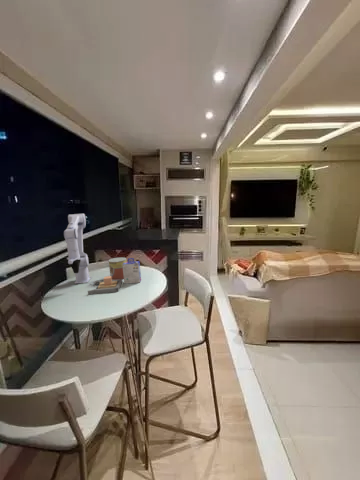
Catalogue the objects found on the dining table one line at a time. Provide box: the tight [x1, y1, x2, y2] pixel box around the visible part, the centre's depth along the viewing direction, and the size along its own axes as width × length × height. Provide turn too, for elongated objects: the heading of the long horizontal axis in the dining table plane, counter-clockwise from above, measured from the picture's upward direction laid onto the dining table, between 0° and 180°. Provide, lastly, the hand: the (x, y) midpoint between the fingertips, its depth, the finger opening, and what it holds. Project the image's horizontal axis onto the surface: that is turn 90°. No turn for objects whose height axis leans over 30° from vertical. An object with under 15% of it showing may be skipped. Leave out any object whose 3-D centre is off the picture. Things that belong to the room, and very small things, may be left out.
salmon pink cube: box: [103, 275, 112, 286], centre depth 149 cm, size 4×4×4 cm
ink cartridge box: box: [122, 257, 142, 285], centre depth 156 cm, size 10×6×14 cm, turn 93°
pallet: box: [97, 281, 118, 289], centre depth 150 cm, size 8×10×2 cm
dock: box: [87, 279, 123, 296], centre depth 149 cm, size 18×16×2 cm
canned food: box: [108, 256, 128, 281], centre depth 166 cm, size 11×11×12 cm
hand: (76, 272), depth 148 cm, fingers closed
